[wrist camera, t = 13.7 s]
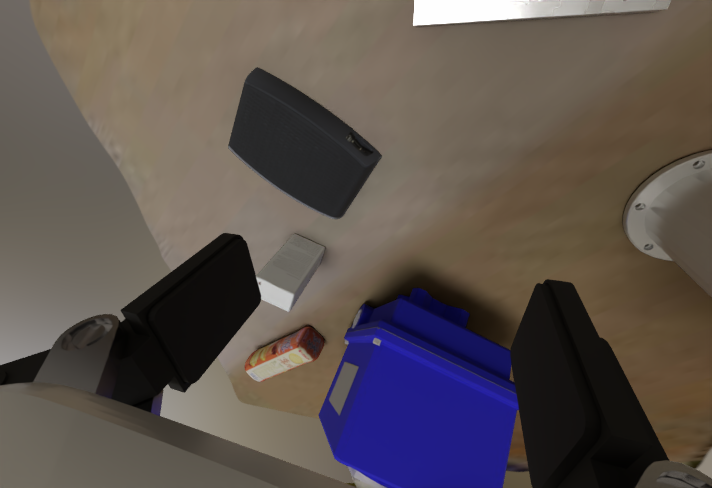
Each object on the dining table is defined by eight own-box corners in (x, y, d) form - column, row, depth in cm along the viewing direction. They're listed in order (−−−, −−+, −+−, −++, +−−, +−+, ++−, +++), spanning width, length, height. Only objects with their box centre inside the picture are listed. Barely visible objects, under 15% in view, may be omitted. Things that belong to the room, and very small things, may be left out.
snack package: (308, 320, 61) (294, 346, 56) (329, 341, 63) (317, 368, 57) (255, 345, 72) (238, 369, 67) (274, 362, 74) (259, 387, 69)
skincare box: (290, 250, 52) (251, 295, 42) (294, 232, 49) (254, 275, 39) (321, 265, 51) (289, 313, 42) (327, 247, 49) (294, 294, 39)
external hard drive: (340, 219, 46) (331, 232, 42) (235, 147, 44) (217, 155, 41) (386, 150, 38) (379, 159, 35) (260, 60, 37) (240, 61, 33)
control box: (409, 261, 35) (288, 579, 24) (599, 356, 36) (569, 700, 25) (361, 294, 59) (289, 460, 47) (476, 351, 60) (433, 525, 49)
